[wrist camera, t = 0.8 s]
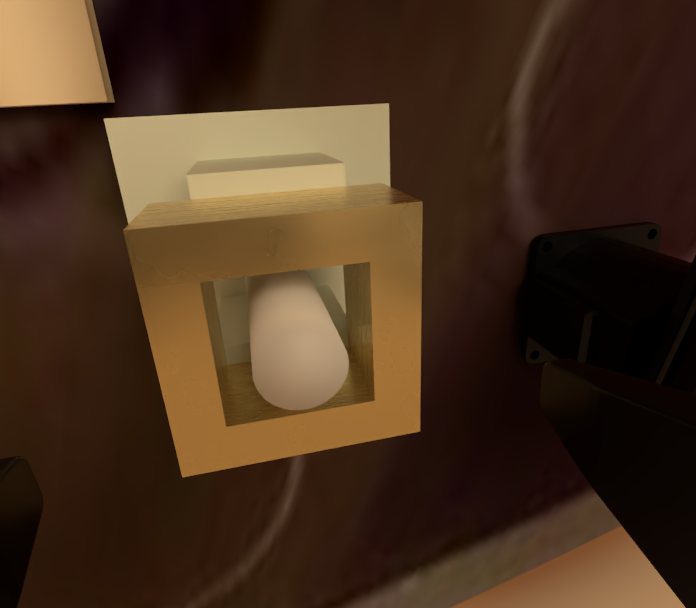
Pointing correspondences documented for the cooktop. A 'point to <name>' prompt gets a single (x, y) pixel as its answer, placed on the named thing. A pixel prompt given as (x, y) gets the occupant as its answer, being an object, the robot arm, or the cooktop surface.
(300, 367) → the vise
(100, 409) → the cooktop surface
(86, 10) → the pad
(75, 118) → the cooktop surface
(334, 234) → the collar
